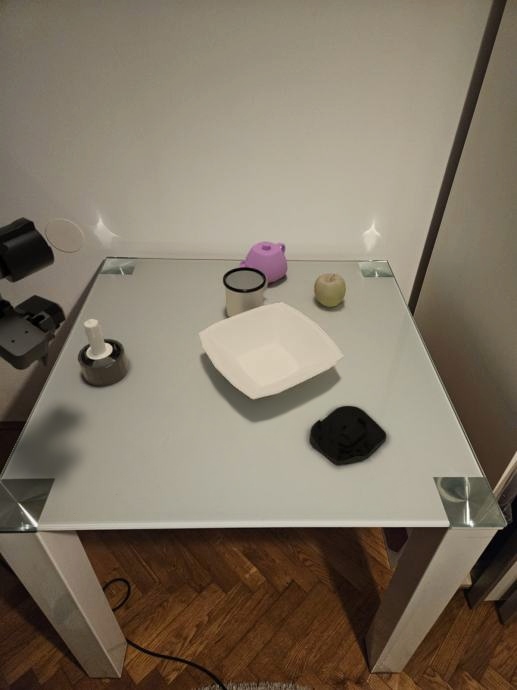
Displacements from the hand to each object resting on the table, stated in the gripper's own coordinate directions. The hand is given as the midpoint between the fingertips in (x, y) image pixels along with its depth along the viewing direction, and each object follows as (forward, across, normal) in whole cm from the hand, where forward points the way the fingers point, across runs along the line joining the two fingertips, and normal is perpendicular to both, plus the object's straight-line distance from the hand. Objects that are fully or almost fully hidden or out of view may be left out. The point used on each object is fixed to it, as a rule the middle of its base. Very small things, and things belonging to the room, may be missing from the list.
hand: (19, 385), depth 64 cm
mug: (+13, +48, -12) cm, 51 cm away
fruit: (+13, +60, -27) cm, 67 cm away
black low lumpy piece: (+13, +25, -44) cm, 52 cm away
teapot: (+13, +61, -9) cm, 63 cm away
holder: (+13, +17, +2) cm, 22 cm away
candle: (+13, +17, +2) cm, 21 cm away
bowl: (+13, +34, -25) cm, 44 cm away
